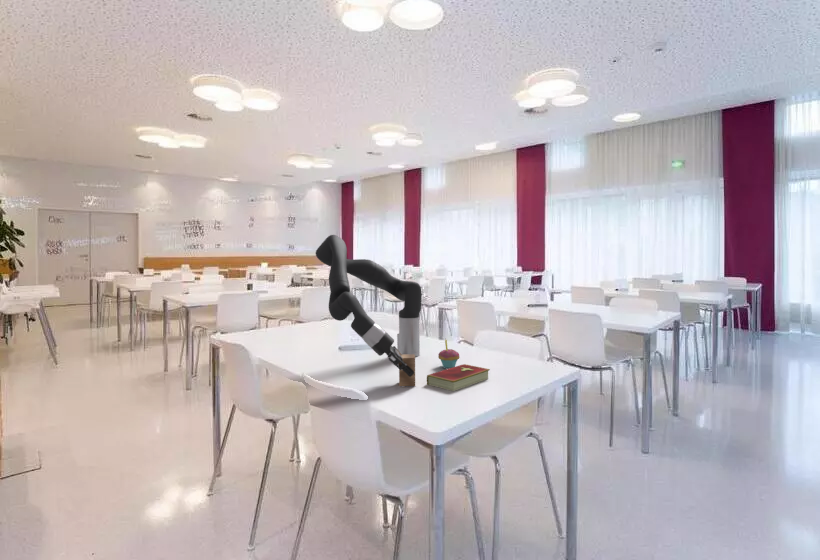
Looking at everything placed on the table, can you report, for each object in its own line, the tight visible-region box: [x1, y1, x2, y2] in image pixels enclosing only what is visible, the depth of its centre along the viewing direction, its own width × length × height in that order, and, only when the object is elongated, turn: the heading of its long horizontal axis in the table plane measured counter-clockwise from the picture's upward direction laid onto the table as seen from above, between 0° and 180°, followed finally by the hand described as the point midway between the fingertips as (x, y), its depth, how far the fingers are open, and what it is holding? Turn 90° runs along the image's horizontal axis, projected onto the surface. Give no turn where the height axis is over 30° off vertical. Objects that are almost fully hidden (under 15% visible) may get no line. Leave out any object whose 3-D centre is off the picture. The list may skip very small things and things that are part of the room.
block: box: [398, 354, 416, 387], centre depth 159 cm, size 6×6×10 cm
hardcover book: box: [426, 363, 490, 392], centre depth 162 cm, size 12×21×4 cm, turn 136°
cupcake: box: [437, 338, 460, 369], centre depth 183 cm, size 9×8×12 cm
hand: (412, 372), depth 159 cm, fingers closed on block, 5 cm apart
